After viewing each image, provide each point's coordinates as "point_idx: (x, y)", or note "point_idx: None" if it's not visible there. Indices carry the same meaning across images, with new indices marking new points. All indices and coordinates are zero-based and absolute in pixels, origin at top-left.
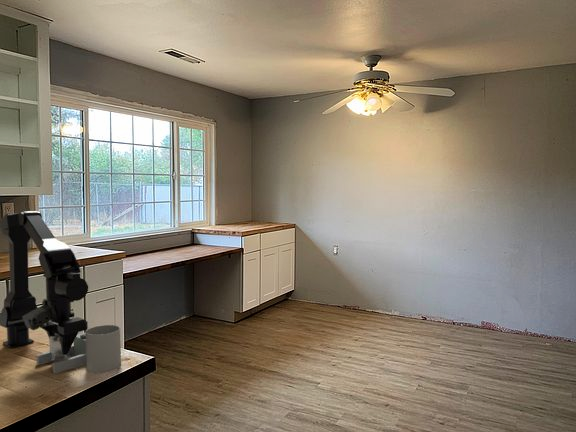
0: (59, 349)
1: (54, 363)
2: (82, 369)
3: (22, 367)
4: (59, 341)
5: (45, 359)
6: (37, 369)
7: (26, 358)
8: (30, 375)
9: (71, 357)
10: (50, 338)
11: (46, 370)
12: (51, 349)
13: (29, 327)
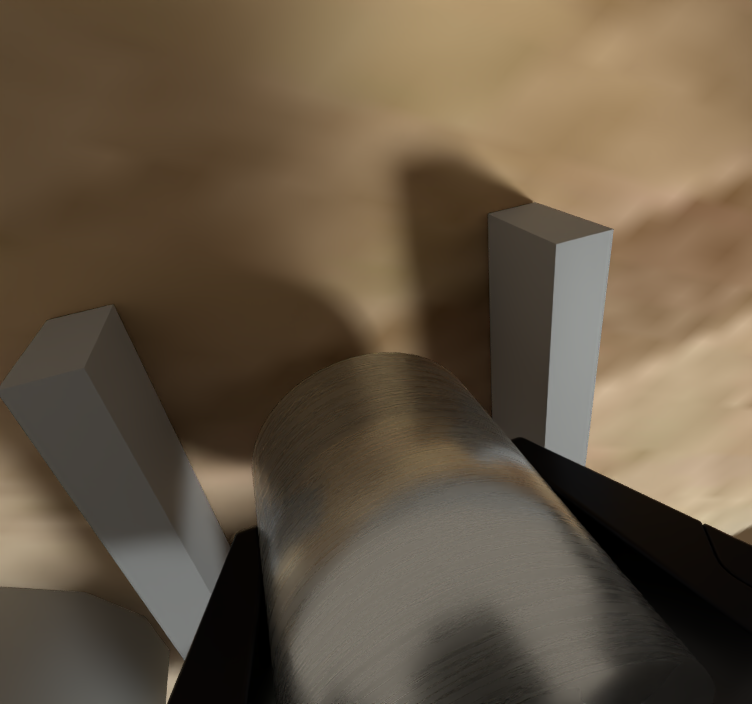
0: (273, 567)
1: (35, 391)
2: (43, 556)
3: (573, 27)
4: None
5: (510, 302)
6: (367, 170)
7: None
8: (184, 19)
9: (191, 567)
10: (494, 679)
11: (255, 254)
12: (375, 466)
13: None
